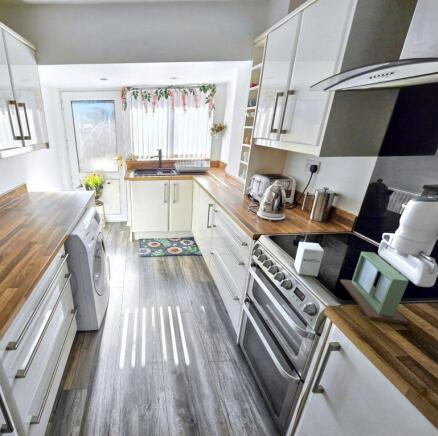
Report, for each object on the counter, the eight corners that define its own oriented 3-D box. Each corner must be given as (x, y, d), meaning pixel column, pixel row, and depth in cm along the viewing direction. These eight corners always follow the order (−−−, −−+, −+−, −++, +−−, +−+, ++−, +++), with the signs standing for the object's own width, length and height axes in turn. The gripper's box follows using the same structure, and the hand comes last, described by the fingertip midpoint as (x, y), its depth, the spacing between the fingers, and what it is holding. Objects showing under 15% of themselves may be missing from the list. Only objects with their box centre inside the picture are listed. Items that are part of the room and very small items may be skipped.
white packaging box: (298, 274, 103) (303, 248, 99) (293, 265, 110) (299, 241, 105) (317, 277, 101) (324, 250, 97) (312, 267, 108) (318, 242, 103)
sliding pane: (389, 296, 85) (399, 270, 81) (404, 311, 78) (417, 283, 74) (373, 294, 86) (382, 268, 82) (386, 309, 79) (398, 281, 75)
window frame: (369, 284, 95) (381, 251, 90) (407, 324, 76) (425, 285, 71) (340, 281, 98) (349, 248, 92) (369, 319, 79) (384, 280, 74)
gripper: (453, 263, 66) (433, 303, 71) (401, 232, 84) (388, 266, 89) (424, 260, 68) (407, 300, 73) (380, 231, 86) (368, 264, 91)
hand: (396, 281), depth 81 cm, fingers closed on sliding pane
